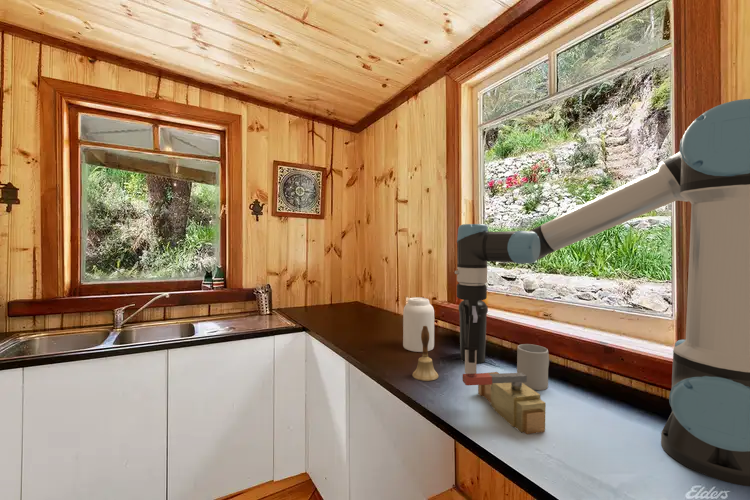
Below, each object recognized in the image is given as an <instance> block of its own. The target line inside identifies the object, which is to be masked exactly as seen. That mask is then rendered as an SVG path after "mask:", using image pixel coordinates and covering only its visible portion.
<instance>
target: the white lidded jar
mask: <svg viewBox="0 0 750 500" xmlns="http://www.w3.org/2000/svg"><path fill="white" fill-rule="evenodd" d="M430 302H431V301H430V299H429V298H426V297H409V298H408V300H407V303H406V304H405V305H404V307H403V311H402V313H403V314H402V317H403V318H402V327H403V328H402V330H403V332H402V333H403V335H402V339H403V340H402V347H403V348H404V349H405V350H408V351H411V352H415V353H417V352H418V353H423V344H422V340H421V333H422V329H423V326H427V328H428V331H429V342H428V352H430V351H432V350H433V349H434V348H435V309H434V306H433V304H431V303H430Z"/></svg>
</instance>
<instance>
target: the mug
mask: <svg viewBox="0 0 750 500" xmlns="http://www.w3.org/2000/svg"><path fill="white" fill-rule="evenodd" d="M516 351H517V352H516V353H517V354H516V355H517V356H516V362H517V363H516V373H523V374H525V375H526V376H527V382H522V383H523V384H525V385H526V386H528V387H529V388H531V389H532V390H534V391H545V390H547V389H548V387H549V366H550V356H549V355H550V354H549V350H548V348H546V347H544V346H541V345H537V344H531V343H523V344H519V345H517V350H516Z"/></svg>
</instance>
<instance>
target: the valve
mask: <svg viewBox="0 0 750 500" xmlns="http://www.w3.org/2000/svg"><path fill="white" fill-rule="evenodd" d="M487 373H488V374H500V373H499V372H497V371H492V372H487ZM477 394H478V395H479V396H480V397H483V398H485V400H487V401H488V402H489V403H490V406H491V408H493V410H494V411H495V412H496V413H497V414H498V415H499V416H500V417H501V418H502V419H503V420H504V421H506V422H507V423H508V424H509V425H510V426H511V427H513V428H515V429H517V430H518V431H519V433H525V434H526V435H532V434H538V433H545V432H546V431H545V430H546V409H547V408H546V405H547V404H546V402H545V401H544V400H542V399H541V394H540V393H539V392H537V391H536V390H532V389H531V388H529V387H528V386H526V385H525V384H523V383H522V390H521V391H515V390H513V389H512V388H511V383H492V384H491V385H477Z"/></svg>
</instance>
